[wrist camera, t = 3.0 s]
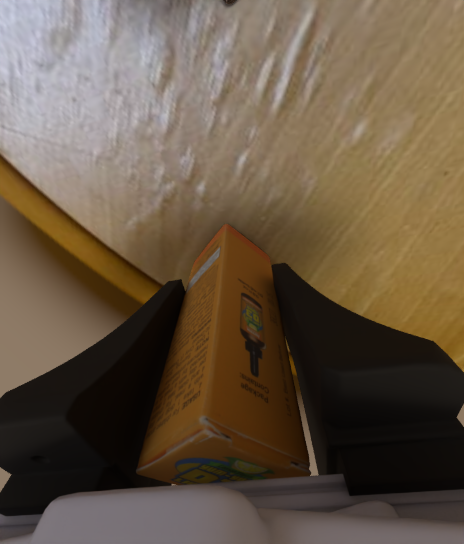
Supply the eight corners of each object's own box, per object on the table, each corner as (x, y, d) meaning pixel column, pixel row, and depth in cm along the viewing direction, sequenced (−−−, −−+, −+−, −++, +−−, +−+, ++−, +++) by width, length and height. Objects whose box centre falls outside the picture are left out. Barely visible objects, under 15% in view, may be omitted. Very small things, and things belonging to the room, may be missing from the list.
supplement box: (188, 264, 14) (118, 480, 6) (226, 219, 13) (209, 418, 4) (233, 294, 15) (230, 513, 7) (272, 256, 14) (332, 472, 5)
